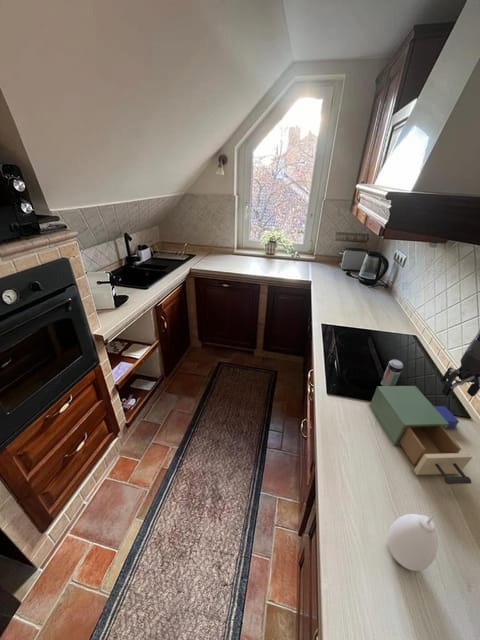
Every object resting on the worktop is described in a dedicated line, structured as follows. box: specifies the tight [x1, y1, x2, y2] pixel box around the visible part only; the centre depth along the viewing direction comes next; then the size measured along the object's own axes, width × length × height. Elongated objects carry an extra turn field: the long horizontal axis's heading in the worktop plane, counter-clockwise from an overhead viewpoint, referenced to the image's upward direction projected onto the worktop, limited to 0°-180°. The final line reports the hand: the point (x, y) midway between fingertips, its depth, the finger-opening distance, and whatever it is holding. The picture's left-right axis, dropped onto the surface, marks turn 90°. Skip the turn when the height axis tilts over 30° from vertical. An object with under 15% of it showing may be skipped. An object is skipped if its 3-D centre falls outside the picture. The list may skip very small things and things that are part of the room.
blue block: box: [433, 405, 460, 429], centre depth 88 cm, size 6×4×4 cm
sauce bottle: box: [387, 513, 439, 572], centre depth 52 cm, size 8×8×18 cm
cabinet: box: [369, 385, 449, 446], centre depth 84 cm, size 16×14×10 cm
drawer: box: [399, 426, 473, 485], centre depth 73 cm, size 20×13×8 cm, turn 2°
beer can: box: [380, 358, 404, 386], centre depth 100 cm, size 5×5×12 cm
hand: (457, 394), depth 82 cm, fingers open, 8 cm apart
